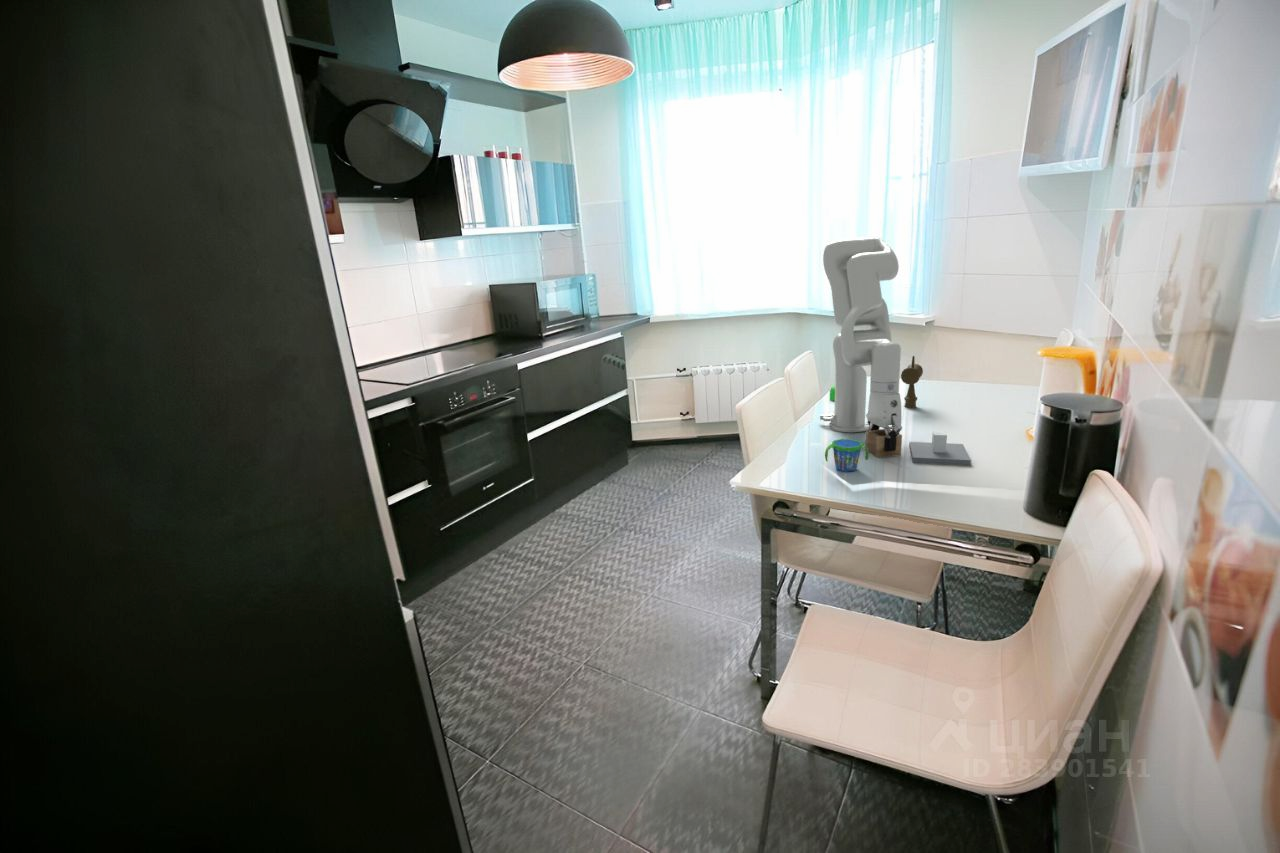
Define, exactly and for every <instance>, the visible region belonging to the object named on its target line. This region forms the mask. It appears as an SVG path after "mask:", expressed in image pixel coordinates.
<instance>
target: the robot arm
mask: <svg viewBox="0 0 1280 853" xmlns="http://www.w3.org/2000/svg"><path fill="white" fill-rule="evenodd" d="M822 256H823V257H822V260H823V261H822V262H823V267H824V268H823V270H824V272H825V276H826V277H827V280H828V283H829V285H830V289H831V297H832V298H831V299H832V307H833V314H834V321H835V323H836V325H837V326H838V327H841V329H840V333H838V334H837V335H835V337H834V339H833V340H832V341H833V343H832V349H833V356H834V366H835V367H834V368H835V370H834V371H835V374H834V375H835V378H834V379H835V384H834V385H835V401H834V410H833V413H830V414H825V413H820V416H819V420H820V421H823V422H828V423H829V424H828V427H829V428H830V429H831V430H833V431H837V432H840V433H841V432H842V433H861V432H866V431H870V430H879V429H885V433H886V437H887V438H885V448H884V451H886V452H889V451H895V450H896V438H897V437H898V434H900V432H901V431H902V429H903V426H902V419H903V418H902V417H903V416H902V399H901V394H900V380H901V378H900V377H901V358H902V357H901V354H902V347H901V345H900V344H899V343H898V342H893V341H892V333H891V324H890V316H889V310H888V305H887V302H886V301H885V300H884V298H883V295H882V289H881V282H882V281H883V282H885V281H891V280H894V279H895V278H896V277H897V275H898V273H899V268H900V266H899V261H898V257H897V254H896V253H895V252H894V250H893V249H892V248H891V247H890V246H889V245H888V244H887V243H886V241H884V239H882V238H881V237H877V236H871V237H869V236H868V237H865V236H864V237H851V238H840V239H836V240H833V241H831V242H829V243H828V244H827V245H826V246H825V247H824V250H823V254H822ZM861 327H868V328H869V329H857V330H856V329H855V330H854V328H861ZM866 366H867V367H868V366H870V383H869V384H870V387H869V389H870V390H869V398H868V408H867V413H866V407H867V406H866V405H867V404H866V403H867V383H868V382H867V381H868V380H867V378H868V376H867V372H866V370H865V368H864V367H866ZM866 420H867V421H866ZM889 429H890V430H892V431H891V432H889Z"/></svg>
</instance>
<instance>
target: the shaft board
mask: <svg viewBox="0 0 1280 853" xmlns="http://www.w3.org/2000/svg"><path fill="white" fill-rule="evenodd" d="M947 439H948V434H947V432H946V431H932V440H931V442H926V441H925V442H924V441H908V448H909V453H910V457H911V461H912V463H915V464H932V465H933V464H934V465H936V464H937V465H950V466H953V465H954V466H971V464H972V459H971V457H970V455H969V453H968V452H967V450H966V448H965V445H964V443H949V442H948V443H947Z"/></svg>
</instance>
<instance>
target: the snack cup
mask: <svg viewBox="0 0 1280 853" xmlns="http://www.w3.org/2000/svg"><path fill="white" fill-rule="evenodd" d="M863 447H864V449H865V448H866V451H865V456H864V459H865V460H866V461H868V460H869V457H870V456H869V455H870V453H869V451H868V448H867V447H866V446H865V443H862V442H861V441H859V440H856V439H849V438H841V439H839V438H838V439H836V440H833V441H832V443H831V444H829V445H828V446H827V447H826V449H825V451H824V458H825V462H828V458H829V457H828V455H829V450H830V449H831V448H832V450H833V460H834V466H835V469H836V470H838V471H841V472H845V473H846V472H854V471H855V470H857V468H858V465H859V459H860V455H861V452H862V449H863ZM855 472H856V471H855Z"/></svg>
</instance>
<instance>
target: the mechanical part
mask: <svg viewBox="0 0 1280 853" xmlns="http://www.w3.org/2000/svg"><path fill="white" fill-rule="evenodd" d="M829 400H830V401H834V402H835V384H834V385H832V387H831V388H830V389H829Z"/></svg>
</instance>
